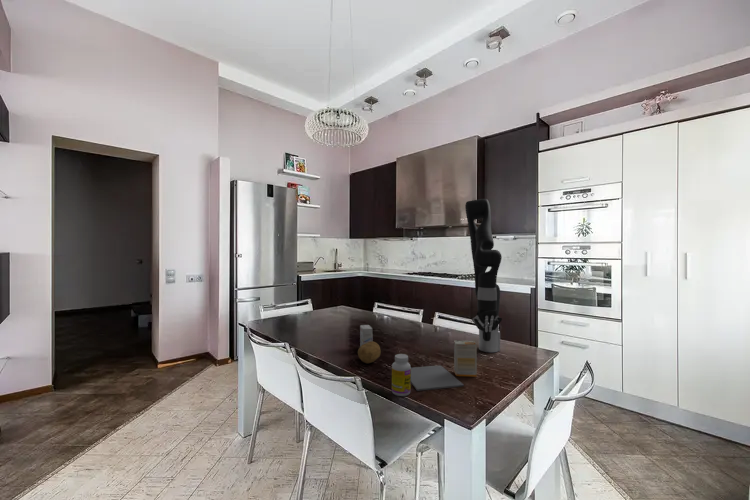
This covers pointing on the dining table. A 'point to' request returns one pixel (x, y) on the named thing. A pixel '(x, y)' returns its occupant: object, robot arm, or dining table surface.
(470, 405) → the dining table surface
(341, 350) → the dining table surface
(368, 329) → the ink box
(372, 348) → the potato
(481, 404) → the dining table surface
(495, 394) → the dining table surface
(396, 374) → the supplement bottle
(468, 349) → the supplement box
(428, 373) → the rubber mat
